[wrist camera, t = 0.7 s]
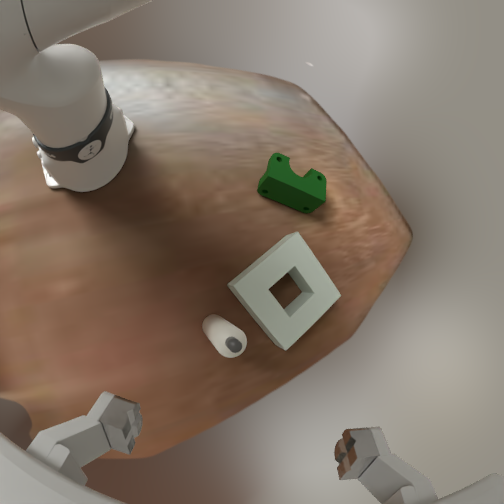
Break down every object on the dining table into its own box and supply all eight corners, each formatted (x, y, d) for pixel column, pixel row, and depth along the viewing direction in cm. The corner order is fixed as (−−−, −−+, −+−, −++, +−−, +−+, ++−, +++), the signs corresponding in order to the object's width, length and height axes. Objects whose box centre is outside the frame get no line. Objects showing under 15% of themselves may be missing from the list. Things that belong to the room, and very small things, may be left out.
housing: (226, 284, 46) (233, 285, 41) (286, 235, 50) (297, 231, 46) (275, 344, 47) (285, 350, 43) (327, 294, 52) (341, 295, 47)
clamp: (294, 194, 56) (331, 181, 50) (290, 218, 54) (330, 206, 47) (254, 160, 49) (293, 140, 43) (247, 185, 47) (289, 166, 40)
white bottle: (197, 324, 44) (211, 345, 30) (215, 309, 45) (237, 323, 32) (212, 342, 44) (233, 368, 31) (230, 327, 45) (258, 347, 32)
